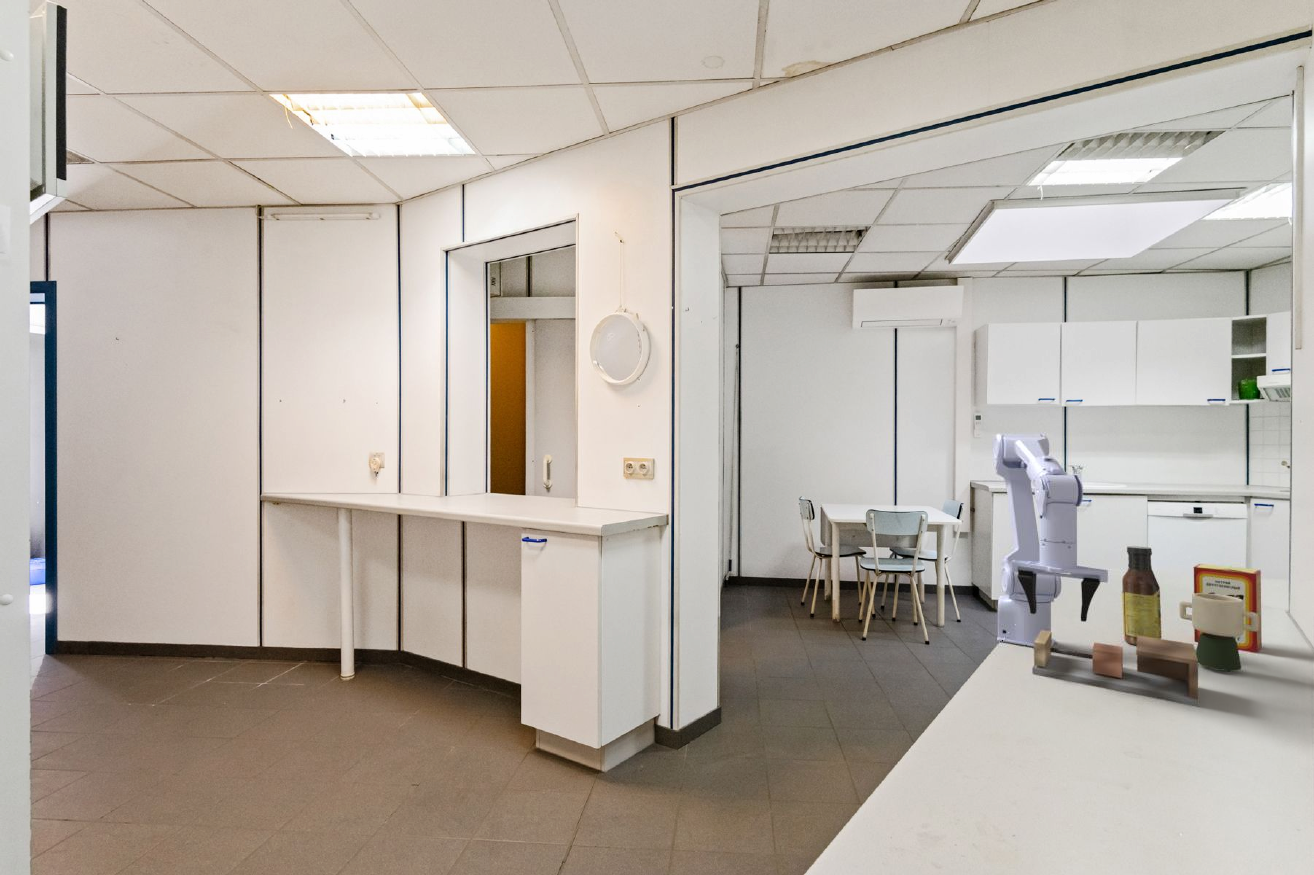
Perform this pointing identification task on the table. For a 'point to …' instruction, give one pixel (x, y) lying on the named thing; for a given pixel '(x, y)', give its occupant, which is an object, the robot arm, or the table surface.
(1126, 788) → the table surface
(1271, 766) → the table surface
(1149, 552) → the sauce bottle
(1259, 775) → the table surface
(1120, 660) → the pull block
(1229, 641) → the character mug
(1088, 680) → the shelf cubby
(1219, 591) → the baking soda box
